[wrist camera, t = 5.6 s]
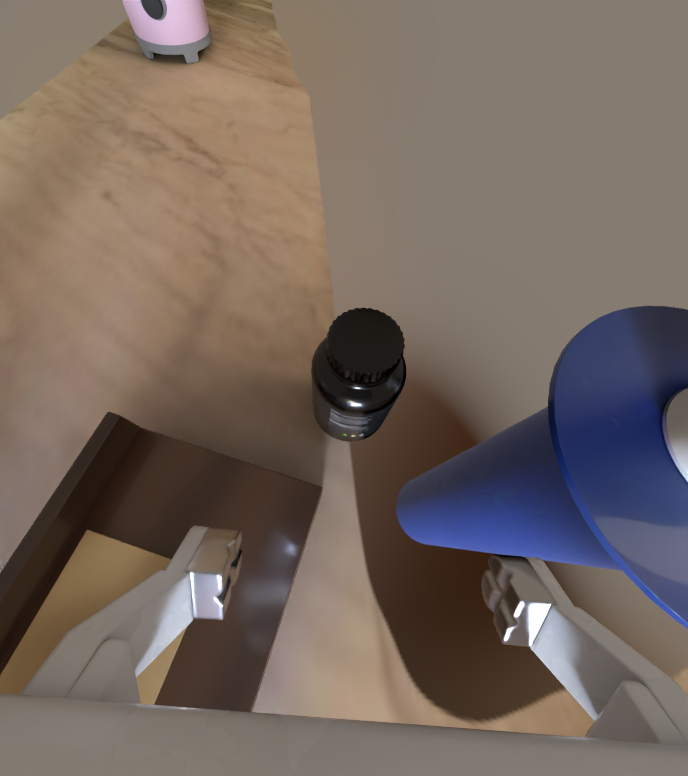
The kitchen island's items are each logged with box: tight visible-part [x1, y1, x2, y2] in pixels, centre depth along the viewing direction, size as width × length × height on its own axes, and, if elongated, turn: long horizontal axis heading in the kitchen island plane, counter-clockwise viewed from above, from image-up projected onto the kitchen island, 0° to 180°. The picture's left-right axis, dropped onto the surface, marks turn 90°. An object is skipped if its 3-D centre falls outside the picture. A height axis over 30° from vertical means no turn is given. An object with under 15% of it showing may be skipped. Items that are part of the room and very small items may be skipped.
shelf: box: [0, 412, 322, 712], centre depth 21 cm, size 16×20×6 cm
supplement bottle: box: [311, 308, 406, 441], centre depth 25 cm, size 7×7×12 cm
